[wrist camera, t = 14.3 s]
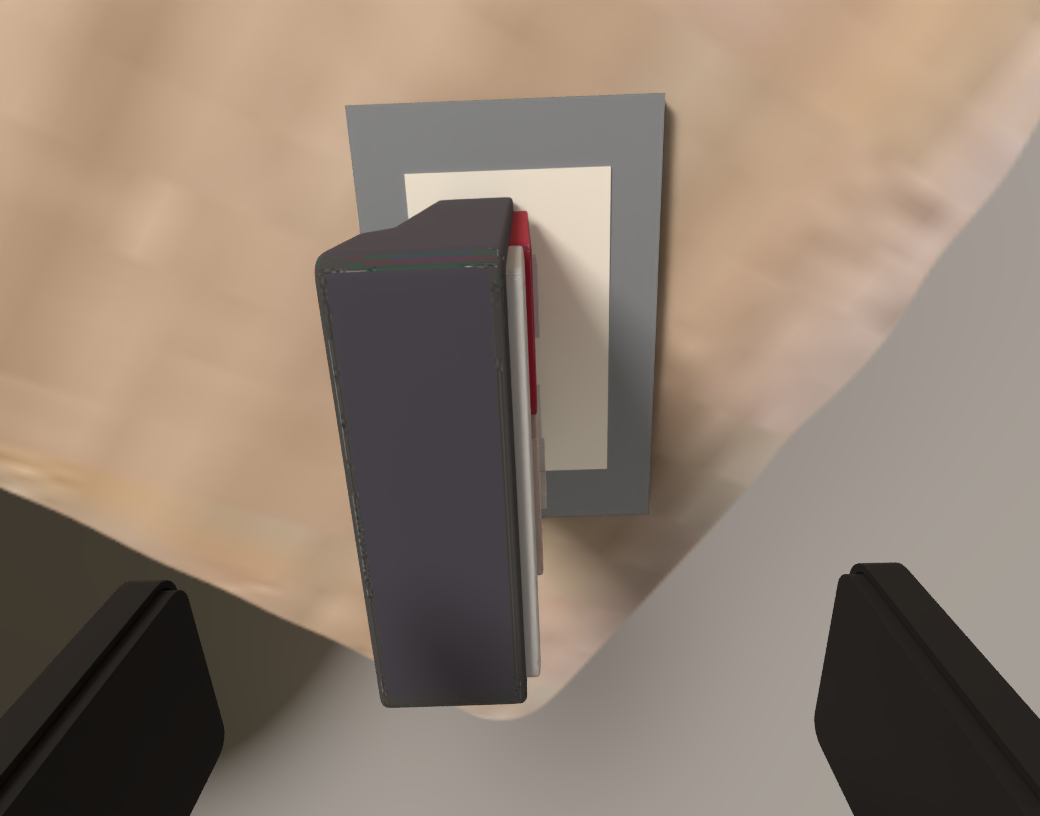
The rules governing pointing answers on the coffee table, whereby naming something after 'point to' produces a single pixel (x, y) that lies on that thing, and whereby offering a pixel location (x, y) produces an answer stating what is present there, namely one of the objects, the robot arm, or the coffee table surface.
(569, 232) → the slate picture frame
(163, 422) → the coffee table surface
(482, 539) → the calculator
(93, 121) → the coffee table surface
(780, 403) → the coffee table surface
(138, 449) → the coffee table surface
